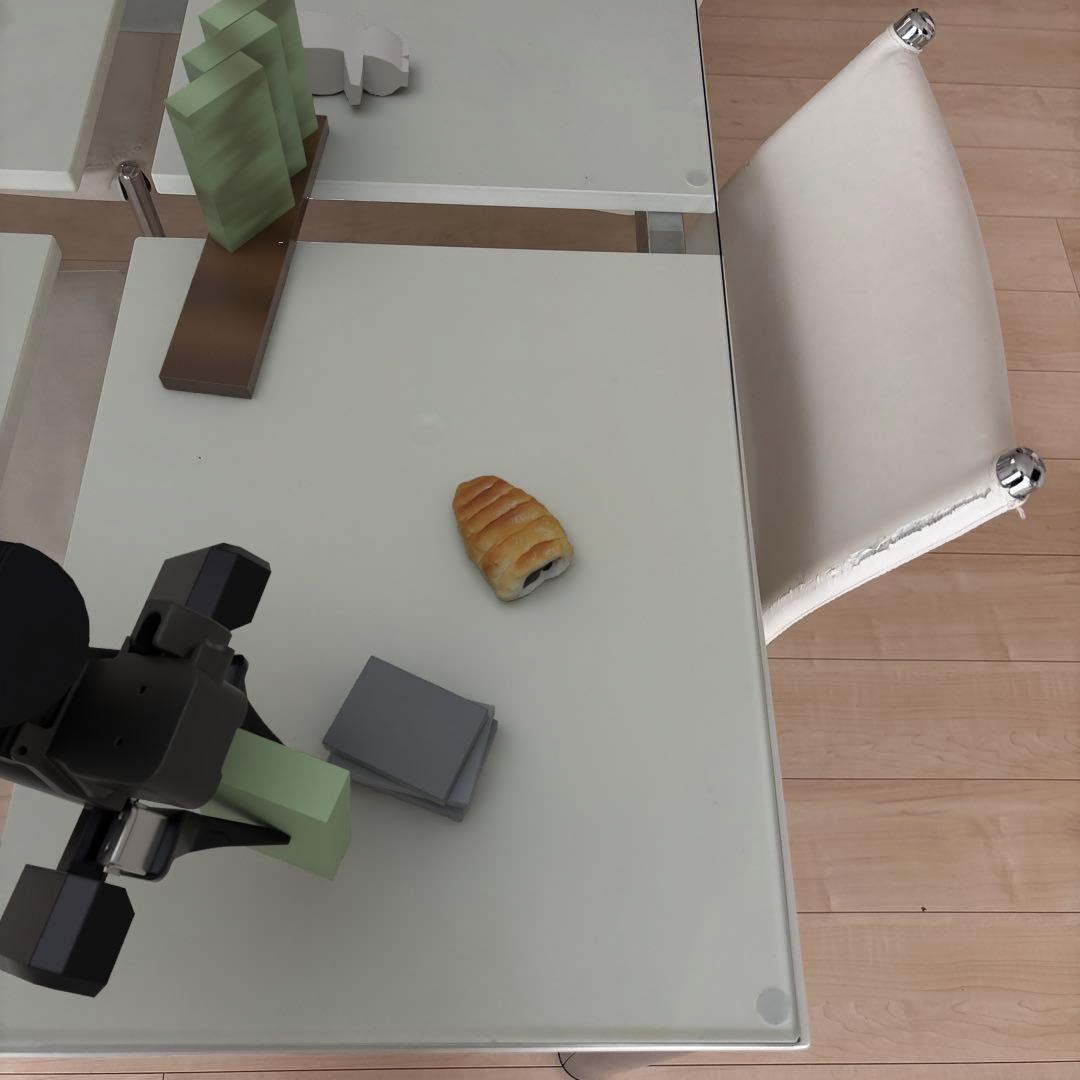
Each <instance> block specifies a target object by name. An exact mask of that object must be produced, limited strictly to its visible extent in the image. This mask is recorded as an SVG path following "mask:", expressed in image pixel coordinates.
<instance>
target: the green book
mask: <svg viewBox="0 0 1080 1080" xmlns="http://www.w3.org/2000/svg"><path fill="white" fill-rule="evenodd" d="M284 745H285V744H284ZM284 745H281V744H279V743H276V742H274V741H271V740H268V739H266V738H263V737H261V736H258V735H255V734H253V733H250V732H248V731H245V730H243V729H240V728H238V729H237V730H236V732H235V735H234V738H233V740H232V743H231V745H230V748H229V751H228V753H227V756H226V758H225V761H224V764H223V766H222V779H221V782H220V784H219V786H218V789H217V791H216V793H215V794H214V796H213V797H212V798H211V800H210V801H209V802H207V803H206V804H205V805H203V806H202V807H200V808H198V809H199V812H200V814H202V815H207V816H212V817H217V818H222V819H227V820H232V821H237V822H243V823H248V824H253V825H258V826H263V827H268V828H272V829H274V830H277V831H279V832H282V833H284V834H287V835H289V836H291V840H290V843H289V845H270V846H244V847H245V848H248V849H251V850H253V851H255V852H258V853H261V854H262V855H265V856H269V857H270V858H273V859H276V860H279V861H281V862H283V863H286V864H288V865H290V866H293V867H296V868H299V869H301V870H304V871H307V872H309V873H312V874H314V875H316V876H319V877H322V878H325V879H327V880H329V881H334V880H335V877H336V875H337V874H338V871H339V868H340V866H341V864H342V862H343V859H344V857H345V854H346V852H347V850H348V847H349V845H350V843H351V841H352V810H351V809H352V806H351V801H352V799H351V780H350V771H348V770H346V769H343V768H341V767H338V766H335V765H333V764H330V763H328V762H326V760H323V759H320V758H318V757H314V756H313V755H310V754H307V753H304V752H301V751H299V750H297V749H294V748H291V747H289V746H287V745H285V746H284Z"/></svg>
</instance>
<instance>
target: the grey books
mask: <svg viewBox="0 0 1080 1080" xmlns="http://www.w3.org/2000/svg"><path fill="white" fill-rule="evenodd" d="M495 713H496V706H495V705H492V704H488V703H484V702H480V701H477V700H476V701H475V700H472V699H467V698H465V697H463V696H462V695H461V696H460V695H459V694H456V693H454V692H453V691H450V690H448V689H447V688H444V687H442V686H440V685H437V684H434V683H432V682H430V681H428V680H426V679H425V678H422V677H420V676H418V675H416V674H414V673H411V672H410V671H407V670H405V669H403V668H400V667H399V666H396V665H394V664H392V663H390V662H387V661H386V660H384V659H381V658H379V657H377V656H375V655H370V656H369V658H368V660H367V661H366V663H365V665H364V667H363V669H362V670H361V672H360V674H359V676H358V677H357V679H356V681H355V683H354V684H353V686H352V688H351V690H350V692H349V693H348V695H347V697H346V698H345V700H344V702H343V704H342V705H341V707H340V709H339V711H338V712H337V714H336V716H335V718H334V720H333V722H331V725H330V726H329V727H328V730H327V732H326V733H325V735H324V737H323V739H322V740H321V744H322V745H323V747H324V749H325V750H326V751H328V752H329V754H328V757H327V759H326V760H325V762H328V763H330V764H333V765H335V766H338V767H341V768H343V769H346V770H348V771H350V782H354V783H356V784H359V785H361V786H363V787H366V788H369V789H371V790H374V791H377V792H380V793H382V794H385V795H388V796H391V797H393V798H396V799H399V800H401V801H404V802H406V803H409V804H412V805H414V806H417V807H420V808H422V809H425V810H427V811H429V812H433V813H436V814H438V815H441V816H443V817H445V818H448V819H452V820H454V821H457V822H459V823H461V822H462V821H463V820H464V817H465V814H466V811H468V810H470V807H471V803H472V800H473V796H474V792H475V789H476V785H477V782H478V779H479V777H480V774H481V772H482V769H483V767H484V764H485V761H486V759H487V757H488V754H489V752H490V749H491V746H492V743H493V741H494V739H495V735H496V733H497V730H498V720H497V719H494V718H495V715H496V714H495Z"/></svg>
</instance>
